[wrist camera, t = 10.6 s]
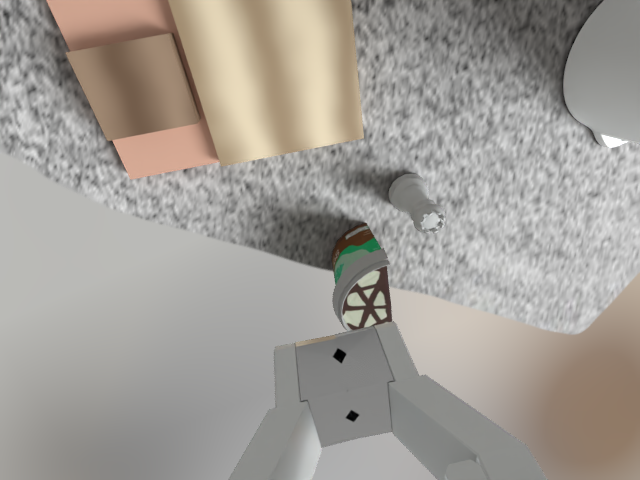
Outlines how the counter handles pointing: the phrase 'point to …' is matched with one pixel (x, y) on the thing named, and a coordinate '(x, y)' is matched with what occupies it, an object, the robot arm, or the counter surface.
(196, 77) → the oak board
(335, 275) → the food container
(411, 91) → the counter surface
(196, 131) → the salmon pink pad
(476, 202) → the counter surface
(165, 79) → the walnut tile
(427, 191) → the rook chess piece
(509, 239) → the counter surface
